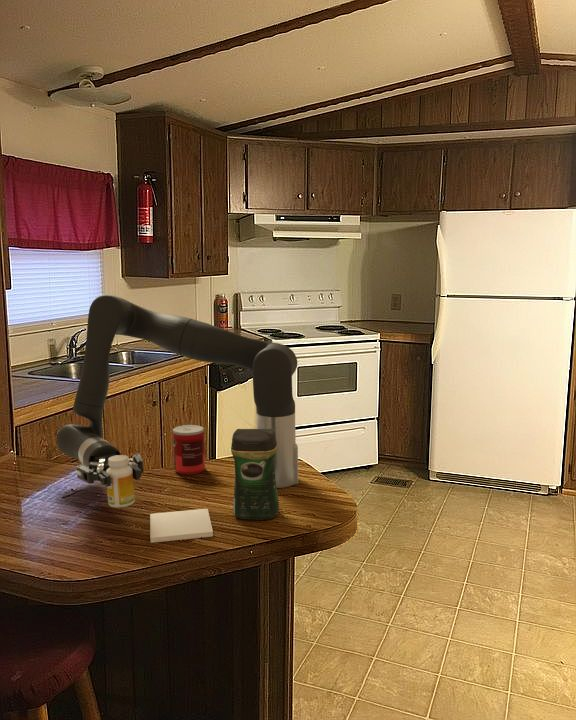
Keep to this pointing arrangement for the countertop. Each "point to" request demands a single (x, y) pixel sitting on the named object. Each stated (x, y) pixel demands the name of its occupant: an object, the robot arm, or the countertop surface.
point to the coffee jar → (255, 474)
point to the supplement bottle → (120, 482)
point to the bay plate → (180, 525)
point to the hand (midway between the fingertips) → (123, 478)
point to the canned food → (189, 449)
